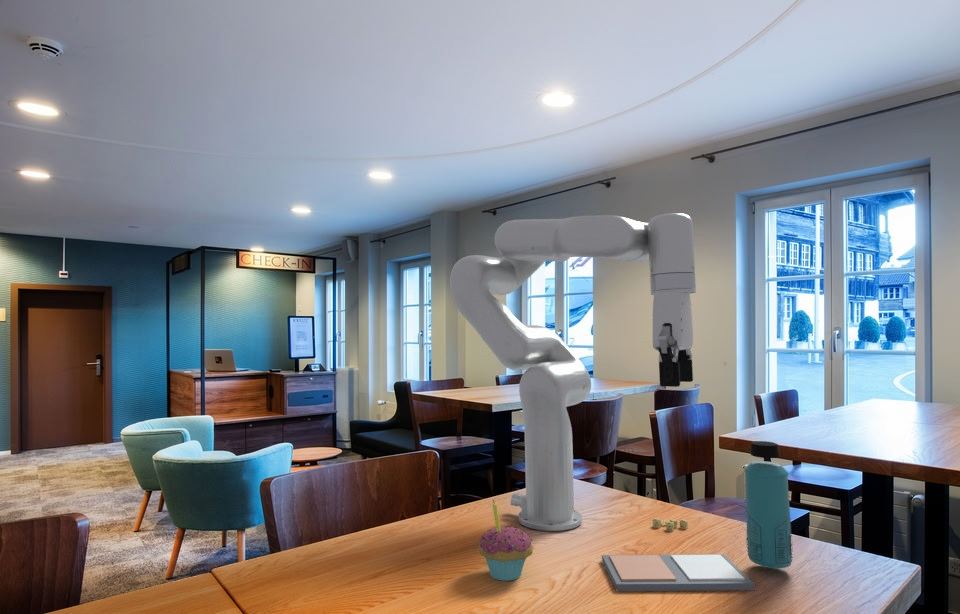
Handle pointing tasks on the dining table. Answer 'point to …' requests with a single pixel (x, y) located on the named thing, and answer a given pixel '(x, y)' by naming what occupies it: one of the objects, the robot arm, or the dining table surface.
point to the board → (675, 573)
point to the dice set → (670, 524)
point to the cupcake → (505, 550)
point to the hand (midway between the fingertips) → (677, 383)
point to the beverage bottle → (767, 509)
